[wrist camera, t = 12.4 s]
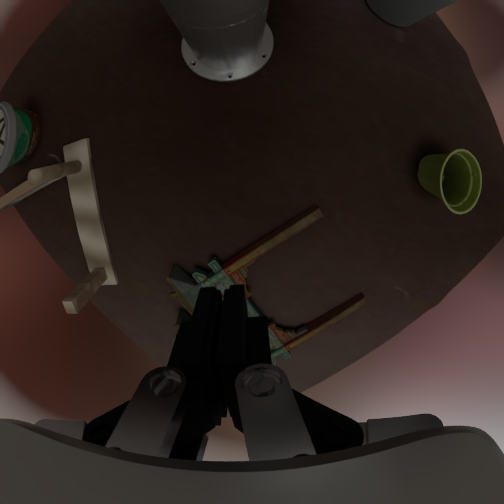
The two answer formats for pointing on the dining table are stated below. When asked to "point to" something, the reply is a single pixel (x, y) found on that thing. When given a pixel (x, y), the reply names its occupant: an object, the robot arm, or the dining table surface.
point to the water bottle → (406, 10)
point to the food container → (18, 134)
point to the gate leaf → (21, 193)
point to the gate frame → (83, 220)
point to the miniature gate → (235, 275)
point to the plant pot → (452, 179)
